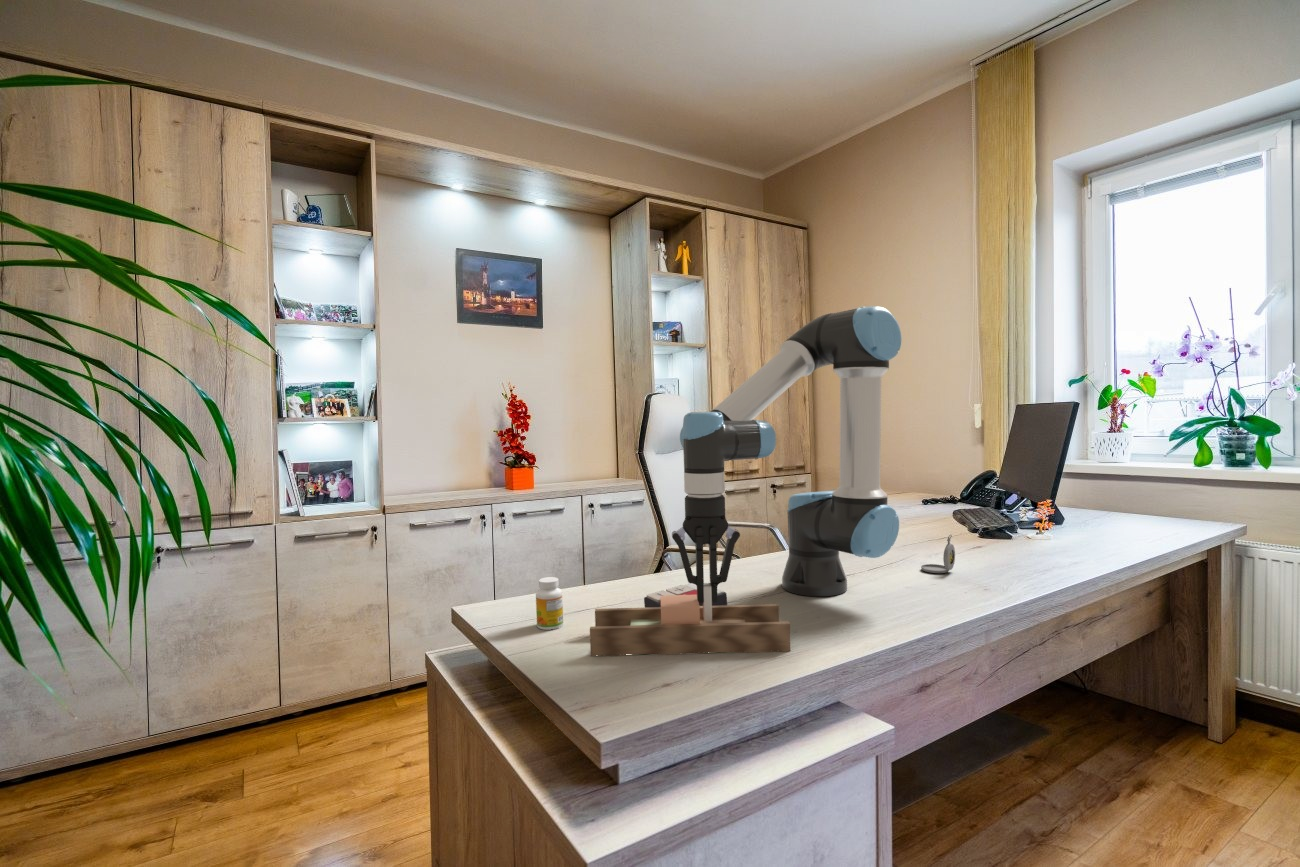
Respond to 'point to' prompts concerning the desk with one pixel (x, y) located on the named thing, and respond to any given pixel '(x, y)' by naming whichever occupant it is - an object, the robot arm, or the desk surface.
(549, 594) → the supplement bottle
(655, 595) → the calculator
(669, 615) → the block
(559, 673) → the desk surface
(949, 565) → the pocket watch
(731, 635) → the trap channel
